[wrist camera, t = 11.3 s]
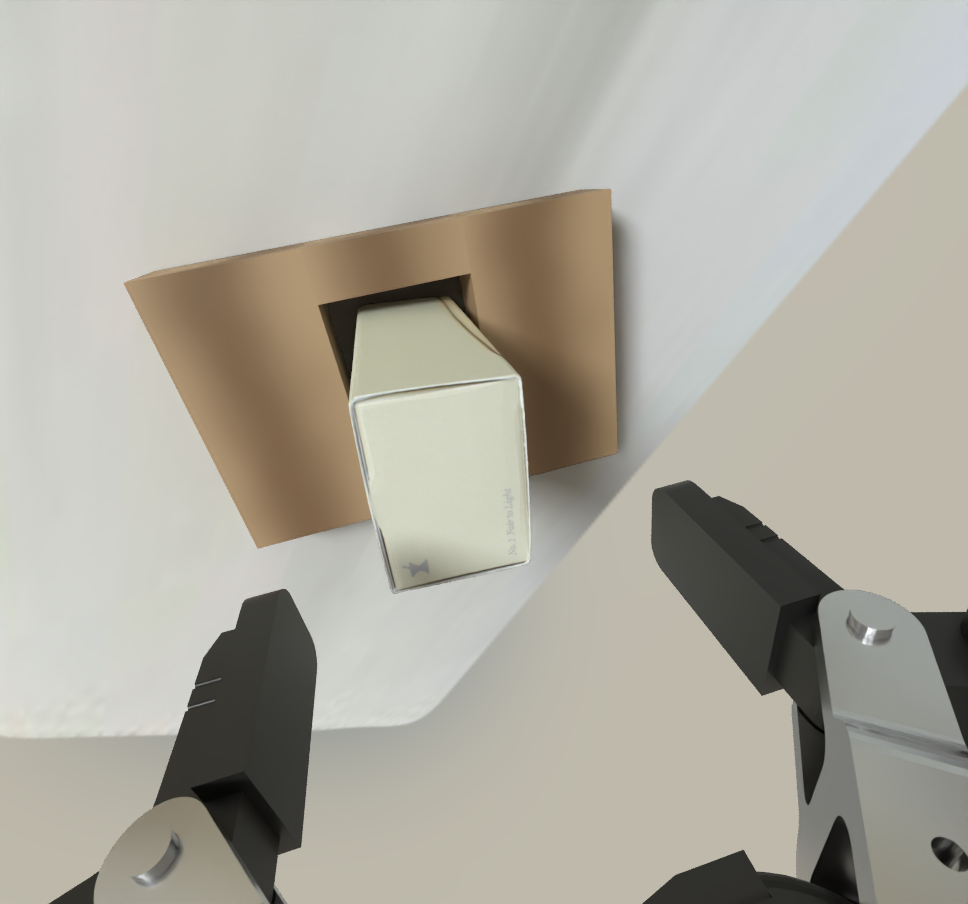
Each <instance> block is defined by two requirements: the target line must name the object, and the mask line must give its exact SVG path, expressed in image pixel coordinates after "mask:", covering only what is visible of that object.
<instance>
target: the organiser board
mask: <svg viewBox="0 0 968 904" xmlns="http://www.w3.org/2000/svg"><path fill="white" fill-rule="evenodd" d="M456 276H459V278H460V283H461V289H462V295H463V301H464V306H465V312H466V316H467V317H468V318H469V319H470V320H471V321H472V322H473V324H474V325H475V326H476V327H477V328H478V329H479V331H480V332H481V333H482V334H483V335H484V336H485V337H486V338H487V339H488V340H489V342H490V343H491V344H492V345H493V346H494V347H495V348H496V350H497V351H498V352H499V353H500V354H501V355H502V356H503V357H504V359H505V360H506V361H507V362H508V363H509V364H510V365H511V366H512V367H513V368H514V370H515V371H516V372H517V373H518V374H519V375H520V376H521V379H522V390H523V398H524V412H525V425H526V436H527V454H528V472H529V476H533V475H537V474H541V473H545V472H548V471H552V470H556V469H560V468H563V467H567V466H571V465H575V464H578V463H582V462H586V461H590V460H594V459H597V458H601V457H605V456H609V455H612V454H616V453H618V451H617V410H616V370H615V329H614V289H613V249H612V208H611V189H590V190H576V191H571V192H566V193H561V194H555V195H550V196H545V197H540V198H535V199H529V200H524V201H519V202H514V203H508V204H503V205H498V206H493V207H488V208H482V209H477V210H472V211H467V212H461V213H456V214H451V215H446V216H441V217H435V218H430V219H425V220H420V221H414V222H409V223H404V224H399V225H394V226H388V227H383V228H378V229H373V230H367V231H362V232H357V233H352V234H347V235H341V236H336V237H331V238H326V239H320V240H315V241H310V242H305V243H300V244H294V245H289V246H284V247H279V248H273V249H268V250H263V251H258V252H253V253H247V254H242V255H237V256H232V257H226V258H221V259H216V260H211V261H206V262H200V263H195V264H190V265H185V266H179V267H174V268H169V269H164V270H159V271H154V272H151V273H149V274H146V275H143V276H141V277H138V278H135V279H133V280H130V281H128V282H125V283H124V285H125V287H126V289H127V291H128V293H129V295H130V297H131V299H132V301H133V303H134V305H135V307H136V309H137V311H138V313H139V315H140V317H141V319H142V321H143V323H144V325H145V327H146V329H147V331H148V333H149V334H150V336H151V338H152V340H153V342H154V344H155V346H156V348H157V350H158V352H159V354H160V356H161V358H162V360H163V362H164V364H165V366H166V368H167V370H168V372H169V374H170V376H171V378H172V380H173V382H174V384H175V386H176V388H177V390H178V392H179V394H180V396H181V398H182V400H183V402H184V404H185V406H186V408H187V410H188V412H189V414H190V416H191V418H192V420H193V422H194V424H195V425H196V427H197V429H198V431H199V433H200V435H201V437H202V439H203V441H204V443H205V445H206V447H207V449H208V451H209V453H210V455H211V457H212V459H213V461H214V463H215V465H216V467H217V469H218V471H219V473H220V475H221V477H222V479H223V481H224V483H225V485H226V487H227V489H228V491H229V493H230V495H231V497H232V499H233V501H234V503H235V505H236V507H237V509H238V511H239V513H240V515H241V516H242V518H243V520H244V522H245V524H246V526H247V528H248V530H249V532H250V534H251V536H252V538H253V540H254V542H255V544H256V546H257V548H262V547H266V546H269V545H273V544H277V543H281V542H284V541H288V540H292V539H296V538H300V537H303V536H307V535H311V534H315V533H318V532H322V531H326V530H330V529H333V528H337V527H341V526H345V525H349V524H352V523H356V522H360V521H364V520H367V519H371V518H372V516H371V512H370V508H369V504H368V500H367V495H366V490H365V486H364V481H363V476H362V471H361V467H360V462H359V457H358V452H357V448H356V443H355V438H354V433H353V427H352V422H351V417H350V413H349V405H348V404H349V394H350V384H351V381H350V378H349V375H348V372H347V368H346V365H345V362H344V359H343V356H342V352H341V349H340V346H339V343H338V340H337V336H336V333H335V330H334V327H333V324H332V321H331V317H330V314H329V311H328V308H327V305H326V303H330V302H335V301H340V300H345V299H350V298H355V297H359V296H364V295H369V294H374V293H379V292H383V291H388V290H393V289H398V288H403V287H407V286H412V285H417V284H422V283H427V282H431V281H436V280H441V279H446V278H451V277H456Z"/></svg>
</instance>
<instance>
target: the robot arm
mask: <svg viewBox="0 0 968 904" xmlns="http://www.w3.org/2000/svg"><path fill="white" fill-rule="evenodd" d="M651 537H652V538H651V543H652V549H653V553H654V556H655V558H656V561H657V563H658V565H659V567H660V568H661V570H662V571H663V572H664V573H665V575H666V576H667V577H668V578H669V580H670V581H671V582H672V584H673V585H674V586H675V587H676V589H677V590H678V591H679V592H680V594H681V595H682V596H683V597H684V599H685V600H686V601H687V602H688V604H689V605H690V606H691V607H692V609H693V610H694V611H695V612H696V613H697V615H698V616H699V617H700V619H701V620H702V621H703V622H704V624H705V625H706V626H707V627H708V629H709V630H710V631H711V632H712V634H713V635H714V636H715V637H716V639H717V640H718V641H719V642H720V644H721V645H722V646H723V648H724V649H725V650H726V651H727V653H728V654H729V655H730V656H731V658H732V659H733V660H734V661H735V663H736V664H737V665H738V666H739V668H740V669H741V670H742V671H743V672H744V674H745V675H746V676H747V678H748V679H749V680H750V681H751V683H752V684H753V685H754V686H755V687H756V689H757V690H758V691H759V693H760V694H761V695H766V694H769V693H772V692H774V691H777V690H781V689H785V691H786V692H787V693H788V694H789V696H790V697H791V698H792V699H793V704H792V723H793V737H794V750H795V764H796V777H797V790H798V804H799V829H798V838H797V852H796V875H797V878H793V877H790V876H786V875H781V874H774V873H766V872H756V871H755V869H754V867H753V865H752V864H751V862H750V860H749V859H748V857H747V855H746V853H745V851H744V850H742V851H739V852H736V853H734V854H731V855H728V856H726V857H723V858H720V859H718V860H715V861H712V862H710V863H707V864H704V865H702V866H699V867H696V868H693V869H691V870H688V871H685V872H683V873H680V874H677V875H675V876H674V877H673V878H671V879H670V880H669V881H668V882H667V883H666V884H665V885H663V886H662V887H661V888H660V889H659V890H658V891H656V892H655V893H654V894H653V895H652V896H651V897H650V898H648V899H647V900H646V901H645V902H644V903H643V904H968V609H967V612H916V613H915V612H909V611H908V610H907V609H905V608H904V607H902V606H900V605H899V604H897V603H895V602H893V601H892V600H890V599H887V598H885V597H883V596H880V595H876V594H873V593H870V592H865V591H859V590H844V589H843V588H841V587H840V586H839V585H838V584H836V583H835V582H834V581H833V580H832V579H830V578H829V577H828V576H827V575H826V574H824V573H823V572H822V571H821V570H819V569H818V568H817V567H816V566H814V565H813V564H812V563H811V562H810V561H809V560H807V559H806V558H805V557H804V556H802V555H801V554H800V553H799V552H797V551H796V550H795V549H794V548H793V547H792V546H790V545H789V544H788V543H787V542H785V541H784V540H783V539H779V538H778V535H777V534H775V533H774V532H773V531H772V530H771V529H770V528H768V527H767V526H766V525H765V526H763V524H762V522H761V521H760V520H759V519H758V518H756V517H755V516H754V515H753V514H751V513H750V512H749V511H748V510H747V509H745V508H744V507H743V506H740V505H738V504H736V503H733V502H731V501H729V500H727V499H724V498H722V497H720V496H718V497H714V498H711V497H710V496H709V495H708V494H706V493H705V492H704V491H703V490H702V489H701V488H700V487H698V486H697V485H696V484H695V483H693V482H691V481H688V480H687V481H683V482H679V483H676V484H672V485H668V486H665V487H661V488H657V489H655V490H654V492H653V496H652V535H651ZM316 674H317V658H316V651H315V646H314V643H313V640H312V637H311V635H310V633H309V631H308V629H307V627H306V625H305V623H304V621H303V619H302V617H301V615H300V613H299V611H298V609H297V607H296V605H295V603H294V601H293V599H292V597H291V595H290V593H289V592H288V591H287V590H286V589H281V590H277V591H274V592H270V593H266V594H263V595H259V596H255V597H252V598H248V599H246V600H245V601H244V602H243V604H242V607H241V610H240V614H239V618H238V621H237V625H236V628H235V629H234V630H231V631H227V632H223V633H221V635H220V636H219V637H218V639H217V640H216V641H215V643H214V644H213V646H212V647H211V648H210V650H209V651H208V652H207V654H206V655H205V657H204V658H203V661H202V664H201V667H200V670H199V673H198V676H197V679H196V682H195V689H193V691H192V694H191V697H190V700H189V703H188V711H186V712H185V715H184V718H183V721H182V723H181V726H180V729H179V732H178V735H177V739H176V741H175V745H174V747H173V750H172V754H171V756H170V759H169V762H168V766H167V769H166V771H165V774H164V777H163V781H162V783H161V786H160V790H159V793H158V795H157V798H156V801H155V803H154V806H153V808H152V809H150V810H149V811H147V812H146V813H144V814H143V815H142V816H141V817H139V818H138V819H137V820H136V821H135V822H134V823H133V824H132V825H131V826H130V827H129V828H128V829H127V830H126V831H125V832H124V833H123V834H122V836H121V837H120V838H119V839H118V840H117V842H116V843H115V844H114V846H113V847H112V849H111V850H110V852H109V854H108V855H107V857H106V859H105V861H104V863H103V865H102V867H101V869H100V871H99V872H97V873H96V874H94V875H93V876H91V877H90V878H88V879H87V880H85V881H84V882H82V883H81V884H79V885H77V886H76V887H74V888H73V889H72V890H70V891H68V892H66V893H65V894H63V895H62V896H60V897H59V898H57V899H55V900H54V901H52V902H51V903H50V904H287V903H286V901H285V900H284V898H283V897H282V895H281V893H280V892H279V890H278V889H277V887H276V886H275V885H274V881H275V873H276V864H277V857H278V855H279V854H282V853H285V852H288V851H291V850H294V849H297V848H300V847H301V842H302V831H303V820H304V808H305V797H306V786H307V775H308V764H309V752H310V741H311V730H312V719H313V707H314V696H315V685H316Z"/></svg>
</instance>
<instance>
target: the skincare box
mask: <svg viewBox="0 0 968 904" xmlns="http://www.w3.org/2000/svg"><path fill="white" fill-rule="evenodd" d="M348 405H349V413H350V417H351V422H352V427H353V433H354V438H355V443H356V448H357V452H358V457H359V462H360V467H361V471H362V476H363V481H364V486H365V490H366V495H367V500H368V504H369V508H370V512H371V516H372V520H373V524H374V528H375V532H376V536H377V540H378V544H379V548H380V552H381V555H382V559H383V563H384V567H385V571H386V574H387V577H388V581H389V586H390V590H391V592H392V593H393V594H396V593H400V592H404V591H408V590H413V589H419V588H423V587H428V586H432V585H439V584H442V583H448V582H452V581H456V580H461V579H466V578H470V577H475V576H480V575H485V574H489V573H492V572H497V571H501V570H506V569H510V568H514V567H518V566H523V565H526V564H528V563H529V562H530V558H531V514H530V489H529V472H528V454H527V436H526V425H525V412H524V398H523V390H522V379H521V376H520V375H519V374H518V373H517V372H516V371H515V370H514V368H513V367H512V366H511V365H510V364H509V363H508V362H507V361H506V360H505V359H504V357H503V356H502V355H501V354H500V353H499V352H498V351H497V350H496V348H495V347H494V346H493V345H492V344H491V343H490V342H489V340H488V339H487V338H486V337H485V336H484V335H483V334H482V333H481V332H480V331H479V329H478V328H477V327H476V326H475V325H474V324H473V322H472V321H471V320H470V319H469V318H468V317H467V316H466V315H465V314H464V312H463V311H462V310H461V309H460V308H459V307H458V306H457V305H456V303H455V302H454V301H453V300H452V299H451V298H450V297H449V296H440V297H430V298H418V299H409V300H400V301H392V302H383V303H376V304H368V305H362V306H360V307H359V308H358V313H357V324H356V333H355V343H354V356H353V365H352V375H351V384H350V394H349V404H348Z"/></svg>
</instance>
